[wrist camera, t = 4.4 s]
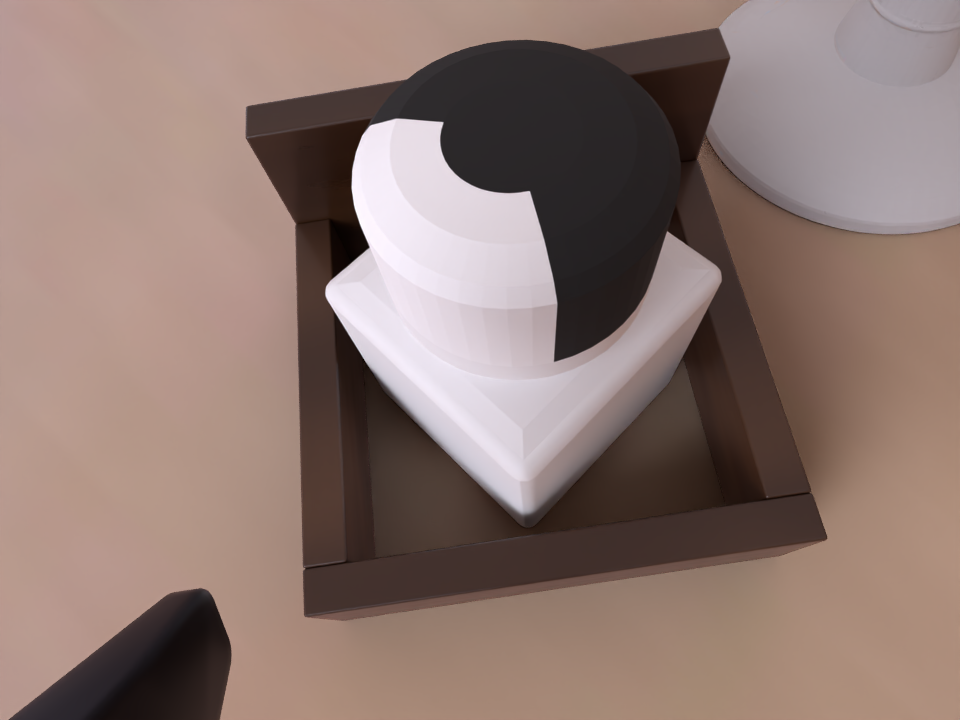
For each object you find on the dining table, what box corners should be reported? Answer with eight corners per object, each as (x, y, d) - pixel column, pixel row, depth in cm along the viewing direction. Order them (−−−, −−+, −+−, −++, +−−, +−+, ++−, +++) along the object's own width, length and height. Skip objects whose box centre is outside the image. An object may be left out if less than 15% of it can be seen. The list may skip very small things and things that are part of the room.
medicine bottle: (520, 257, 24) (507, -58, 13) (673, 379, 22) (812, 117, 11) (379, 388, 23) (229, 150, 12) (528, 534, 20) (517, 410, 9)
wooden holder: (781, 555, 19) (914, 510, 13) (341, 621, 20) (235, 611, 13) (669, 195, 25) (719, 26, 18) (325, 251, 25) (244, 105, 18)
